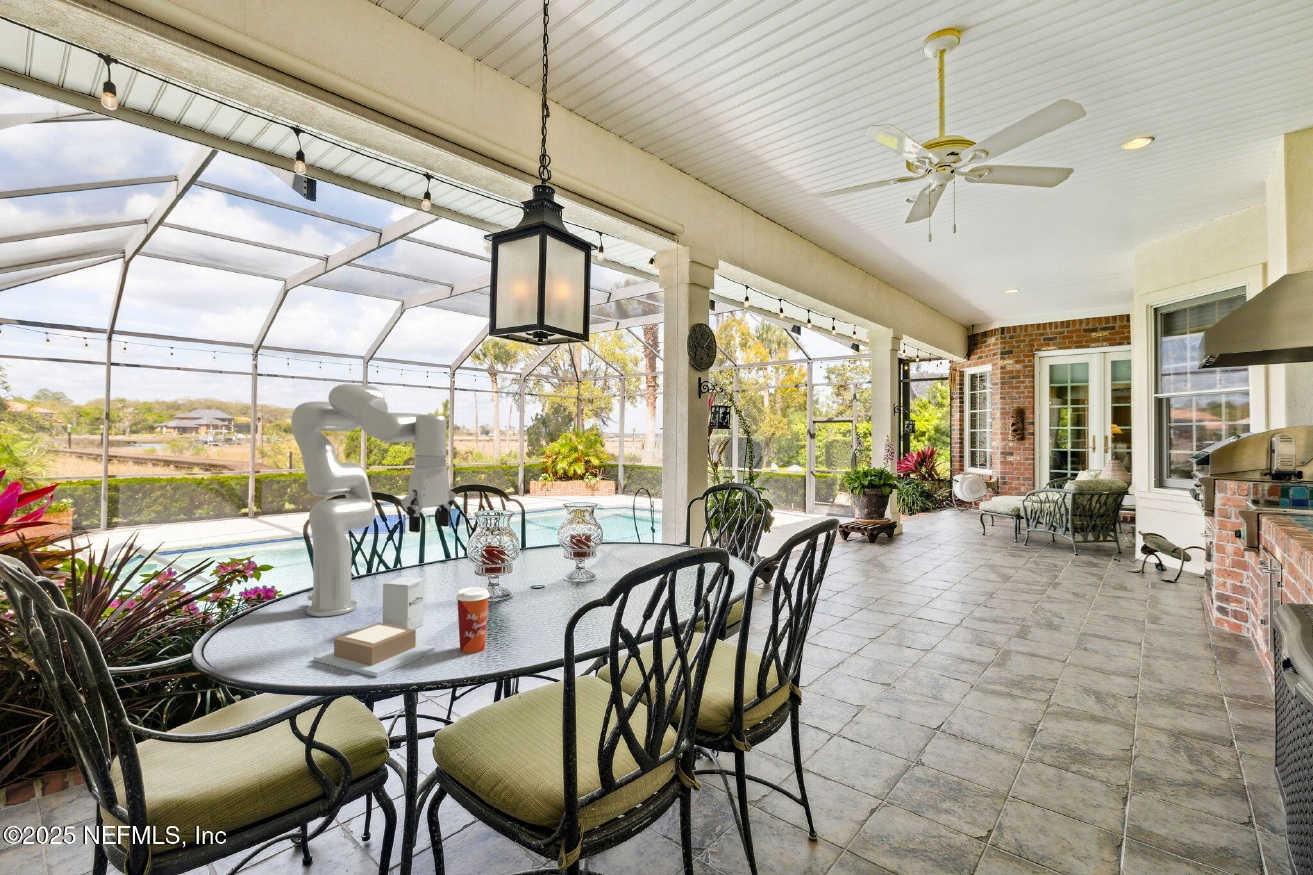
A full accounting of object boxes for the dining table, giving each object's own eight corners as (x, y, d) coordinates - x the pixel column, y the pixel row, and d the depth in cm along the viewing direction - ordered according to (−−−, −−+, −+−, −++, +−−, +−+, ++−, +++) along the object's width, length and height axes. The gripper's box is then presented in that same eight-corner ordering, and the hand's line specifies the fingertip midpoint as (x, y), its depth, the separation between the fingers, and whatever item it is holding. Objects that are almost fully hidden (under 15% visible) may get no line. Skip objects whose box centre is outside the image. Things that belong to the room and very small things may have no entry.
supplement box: (407, 634, 147) (407, 585, 147) (381, 632, 148) (381, 583, 148) (424, 624, 154) (424, 577, 154) (399, 622, 156) (400, 576, 155)
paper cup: (470, 657, 133) (471, 597, 132) (448, 650, 137) (449, 591, 136) (496, 647, 139) (497, 589, 139) (474, 640, 143) (475, 584, 143)
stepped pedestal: (313, 660, 130) (313, 637, 130) (374, 637, 144) (374, 616, 144) (377, 677, 122) (377, 652, 122) (434, 651, 136) (434, 629, 136)
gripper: (444, 460, 158) (443, 522, 158) (392, 463, 142) (391, 532, 142) (465, 461, 155) (464, 525, 155) (414, 465, 139) (413, 535, 139)
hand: (429, 528), depth 149 cm, fingers open, 9 cm apart
